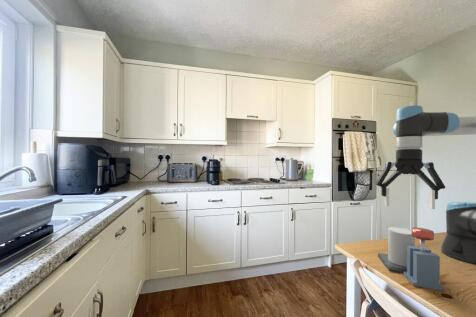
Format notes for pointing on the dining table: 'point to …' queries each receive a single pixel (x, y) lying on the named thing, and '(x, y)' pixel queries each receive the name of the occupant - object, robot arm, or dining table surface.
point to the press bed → (391, 264)
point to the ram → (422, 236)
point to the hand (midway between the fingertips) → (408, 206)
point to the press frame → (423, 268)
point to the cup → (399, 244)
